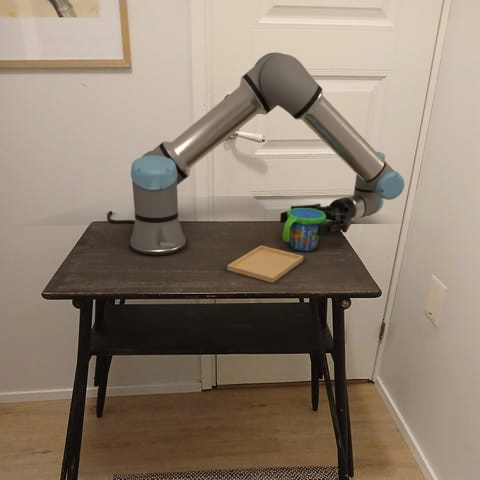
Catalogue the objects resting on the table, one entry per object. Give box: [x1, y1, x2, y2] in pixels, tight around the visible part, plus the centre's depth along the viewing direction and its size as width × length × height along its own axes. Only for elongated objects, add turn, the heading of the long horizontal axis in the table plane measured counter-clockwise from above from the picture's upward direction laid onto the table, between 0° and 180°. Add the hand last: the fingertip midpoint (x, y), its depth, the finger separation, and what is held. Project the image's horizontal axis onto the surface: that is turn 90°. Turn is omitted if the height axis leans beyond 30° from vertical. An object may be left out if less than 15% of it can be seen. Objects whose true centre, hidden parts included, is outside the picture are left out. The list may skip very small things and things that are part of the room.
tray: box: [226, 245, 304, 284], centre depth 127 cm, size 13×17×1 cm
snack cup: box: [281, 208, 327, 253], centre depth 136 cm, size 16×10×10 cm
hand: (299, 224), depth 134 cm, fingers open, 13 cm apart
